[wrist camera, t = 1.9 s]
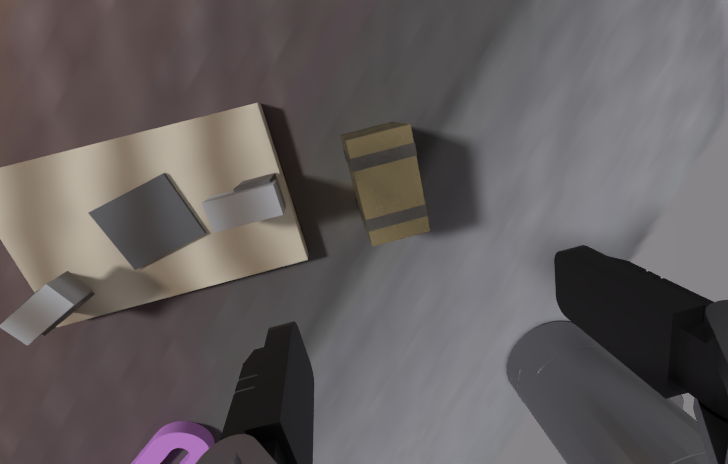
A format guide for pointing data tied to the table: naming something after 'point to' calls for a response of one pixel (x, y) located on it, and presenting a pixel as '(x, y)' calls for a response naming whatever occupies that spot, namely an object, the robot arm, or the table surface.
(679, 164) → the table surface
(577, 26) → the table surface
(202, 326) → the table surface
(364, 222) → the tan rectangular block
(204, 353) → the table surface
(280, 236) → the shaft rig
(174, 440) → the bracket
